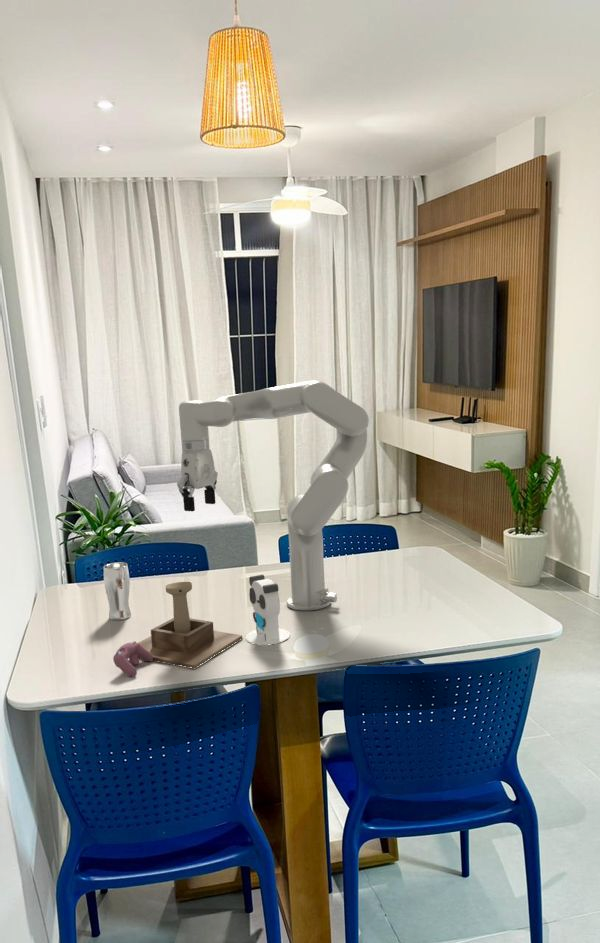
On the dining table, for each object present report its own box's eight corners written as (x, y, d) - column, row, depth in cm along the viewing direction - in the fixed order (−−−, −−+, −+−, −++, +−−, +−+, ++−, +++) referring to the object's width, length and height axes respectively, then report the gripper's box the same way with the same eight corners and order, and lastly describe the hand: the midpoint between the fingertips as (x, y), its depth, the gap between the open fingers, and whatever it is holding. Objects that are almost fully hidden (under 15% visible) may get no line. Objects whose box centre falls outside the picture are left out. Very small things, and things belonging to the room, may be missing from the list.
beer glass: (137, 613, 217) (133, 563, 214) (122, 622, 210) (117, 569, 208) (118, 611, 220) (113, 561, 217) (102, 619, 213) (97, 568, 211)
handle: (198, 643, 189) (193, 585, 187) (172, 648, 187) (166, 589, 185) (194, 637, 194) (189, 580, 191) (169, 641, 192) (164, 584, 189)
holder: (242, 639, 194) (241, 618, 193) (194, 669, 177) (193, 646, 176) (174, 627, 204) (172, 607, 204) (122, 654, 187) (121, 633, 186)
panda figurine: (238, 633, 198) (235, 577, 196) (278, 625, 202) (275, 570, 200) (254, 648, 187) (251, 590, 185) (297, 639, 192) (294, 582, 189)
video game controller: (140, 665, 184) (126, 640, 184) (155, 658, 183) (141, 633, 183) (121, 683, 175) (106, 656, 175) (136, 676, 173) (121, 649, 173)
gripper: (187, 450, 199) (192, 514, 202) (224, 442, 214) (228, 501, 217) (164, 450, 203) (169, 513, 205) (203, 441, 218) (207, 500, 220)
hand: (200, 507), depth 211 cm, fingers open, 9 cm apart
